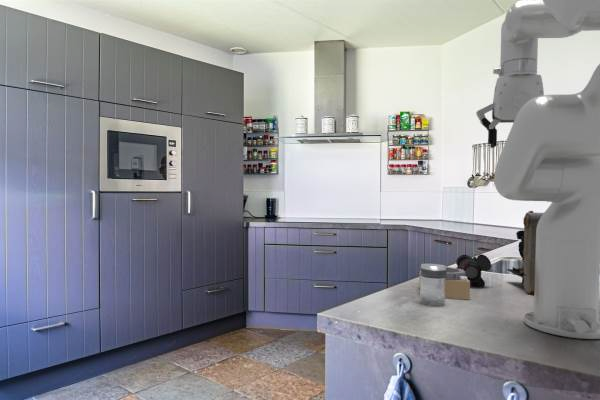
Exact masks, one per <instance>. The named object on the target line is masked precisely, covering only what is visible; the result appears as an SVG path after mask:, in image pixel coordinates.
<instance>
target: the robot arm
mask: <svg viewBox="0 0 600 400" xmlns="http://www.w3.org/2000/svg"><path fill="white" fill-rule="evenodd" d="M585 31H586V32H587V31H589V32H590V31H600V0H517V1H515V2H513V4H512V5H511V6H510V7H509V9H508V10H507V11H506V14H505V19H504V21H503V22H502V24H501V29H500V63H499V66H498V67H493V70H492V71H493V72H492V73H493V75H498V77H497V79H496V82H495V87H494V92H493V100H492V103H491V104H489V105H486V106H485V107H482V108H480V109H478V110H477V111H476V113H475V114H476V117H477V118H478V120H479V123H480V124H481V125H482V126H483V127H484V128H485V129H486V130H487V131H488V132H487V133H488V134H487V135H488V137H487V145H490V148H491V149H494V148H495V147H497V142H498V141H497V139H498V129H497V128H496V127H497V125H498V124H499V123H501V124H502V123H503V124H505V123H508V124H509V123H512V126H511V128H510V131H509V133H508V135H507V138H506V140H505V143H504V146H503V147H502V150H501V152H500V155H499V157H498V159H497V163H496V165H495V169H494V170H495V171H494V177H493V178H494V179H493V180H494V187H495V189H496V191H497V193H498V194H499V195H500V196H501V197H503V198H505V199H507V200H512V201H521V202H523V201H524V202H525V201H526V202H549V203H550V205H549V206H548V208H547V209H546V210H545V211H544V212H543V213H544V214H543V215H542V216H541V218H540V220H539V222H538V224H537V229H536V256H535V292H534V294H533V295H534V297H533V298H534V299H533V300H534V301H533V311H530V312H527V313H525V314H524V315H523V322H524V324H526V325H527V326H528V327H530V328H532V329H535V330H536V331H539V332H543V333H547V334H551V335H553V336H554V335H555V336H560V337H565V338H572V339H583V340H600V321H599V305H600V304H599V303H600V302H599V301H600V63H599V64H598V65H597V66H596V68H595V69H594V71H593V72H592V75H591V77H590V79H589V81H588V82H587V84H586V86H585V87H584V88H583V89H582V90H581V91H580V92H577V93H573V94H572V93H571V94H545V92H544V91H545V90H544V84H543V78H542V75H541V74H538V53H539V52H538V47H539V46H538V45H539V39H563V38H568V37H572V36H575V35H577V34H579V33H580V32H585ZM489 112H491V119H492V121H490V120H489V119H488V118H487V117H486V115H485V114H487V113H489Z"/></svg>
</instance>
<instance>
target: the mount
mask: <svg viewBox="0 0 600 400" xmlns="http://www.w3.org/2000/svg"><path fill="white" fill-rule="evenodd" d="M418 279H419V280H418V282H419V283H418V284H419V285H418V288H419V289H420V287H421V275H420V274H419V278H418ZM470 296H471V282H470V281H469V280H468V279H467V277H466V272H465V271H464V270H462V269H457V267H453V266H452V267H450V266H446V279H445V299H455V300H471V299H470V298H471V297H470Z"/></svg>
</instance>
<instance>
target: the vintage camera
mask: <svg viewBox="0 0 600 400" xmlns="http://www.w3.org/2000/svg"><path fill="white" fill-rule="evenodd" d="M543 214H544V212H534V211H533V210H529V211H528V212H525V215H524V217H523V226H524V227H523V229H522V230H518V231H516V232H515V233H516V234H515V235H516V238H517V240H520V241H519V242H518V246H517V247H518V253H519V255H520V258H521V261H522V263H523V265H522V266H521V267H520V268H519V267H518V268H517V267H513V266H512V268H506V271H508V272H510V273H512V274H513V275H516V276H518V277H520V278H522V280H521V284H523V287H524V288H523V289H524V292H525V294H529V295H530V294H531V295H532V294H533V295H534V292H535V256H536V229H537V224H538V222H539V220H540V218H541V216H542V215H543Z"/></svg>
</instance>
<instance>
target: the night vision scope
mask: <svg viewBox="0 0 600 400" xmlns="http://www.w3.org/2000/svg"><path fill="white" fill-rule="evenodd" d="M455 262H456V263H455V264H456V266H457V267H456V268H457V269H462V270H464V271H465V272H466V277H467V279H468V280H469V281H470V283H475V285H476V287H478V288H483V287H485V285H486V282H485V280H484V279H483V277H482V271H484V272H487V271H488V272H489V271H490V270H491V269H492V263H491V260H490V259H489V257H488V256H486V255H484V254H478V255H477V256H473V257H472V256H470V255H469V254H461V255H459V256H458V257H457V258H456V260H455Z"/></svg>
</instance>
